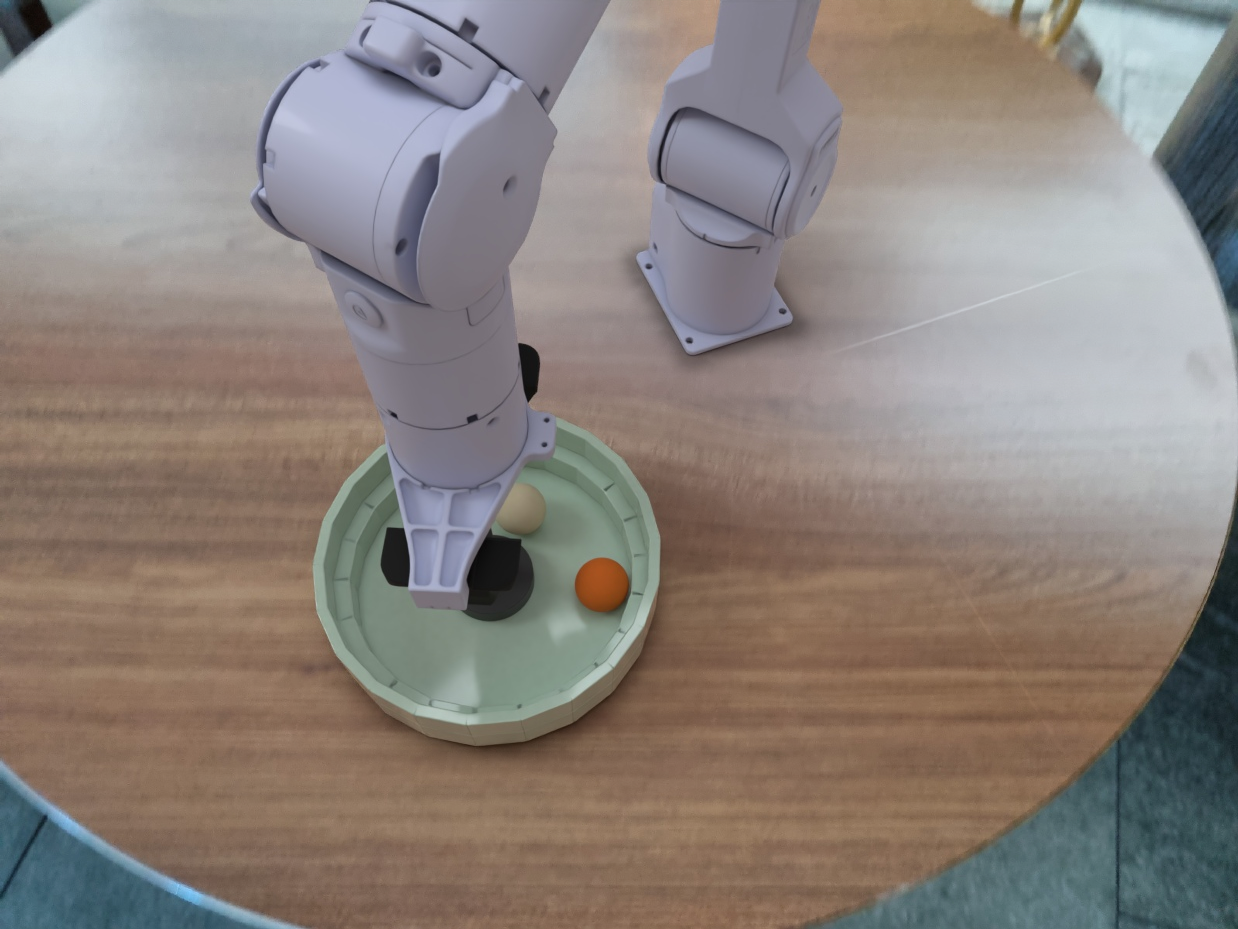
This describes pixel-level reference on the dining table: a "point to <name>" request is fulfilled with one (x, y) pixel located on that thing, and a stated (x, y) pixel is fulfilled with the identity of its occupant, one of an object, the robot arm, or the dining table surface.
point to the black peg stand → (507, 593)
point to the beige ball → (522, 510)
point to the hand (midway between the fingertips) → (482, 525)
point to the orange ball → (601, 584)
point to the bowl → (505, 649)
